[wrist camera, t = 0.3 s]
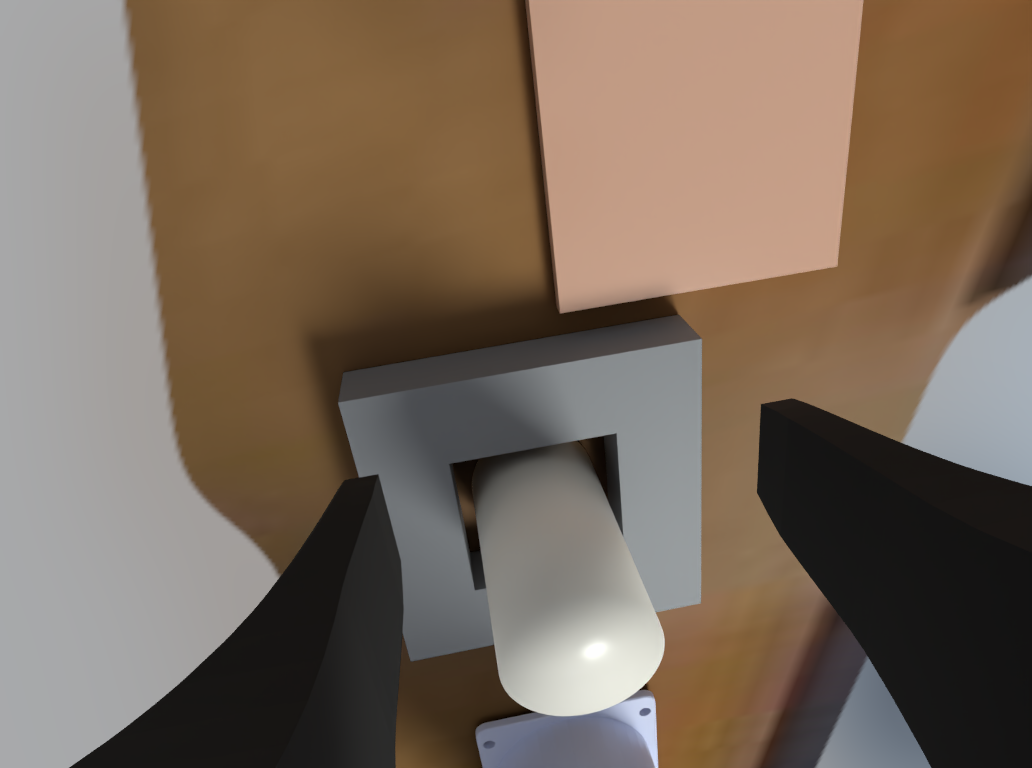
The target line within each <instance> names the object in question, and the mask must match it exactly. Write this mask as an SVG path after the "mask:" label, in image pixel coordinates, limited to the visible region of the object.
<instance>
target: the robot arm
mask: <svg viewBox="0 0 1032 768" xmlns="http://www.w3.org/2000/svg"><path fill="white" fill-rule="evenodd" d="M757 493H758V495H759V497H760V499H761V501H762V503H763V505H764V507H765V509H766V511H767V513H768V515H769V516H770V518H771V520H772V522H773V524H774V525H775V527H776V529H777V531H778V532H779V534H780V536H781V537H782V539H783V540H784V542H785V543H786V544H787V546H788V547H789V549H790V550H791V551H792V553H793V554H794V555H795V557H796V558H797V559H798V561H799V562H800V564H801V565H802V566H803V568H804V569H805V570H806V572H807V573H808V574H809V576H810V577H811V578H812V580H813V581H814V582H815V584H816V585H817V586H818V588H819V589H820V590H821V592H822V593H823V594H824V596H825V597H826V598H827V600H828V601H829V602H830V604H831V605H832V606H833V608H834V609H835V610H836V612H837V613H838V614H839V616H840V617H841V618H842V620H843V621H844V622H845V624H846V625H847V626H848V628H849V629H850V630H851V632H852V633H853V635H854V636H855V638H856V639H857V641H858V642H859V643H860V645H861V646H862V648H863V649H864V651H865V652H866V654H867V656H868V657H869V659H870V661H871V662H872V664H873V666H874V667H875V669H876V670H877V672H878V674H879V676H880V677H881V679H882V681H883V682H884V684H885V686H886V687H887V689H888V691H889V692H890V694H891V696H892V698H893V699H894V701H895V703H896V705H897V706H898V708H899V710H900V712H901V713H902V715H903V717H904V719H905V721H906V722H907V724H908V726H909V728H910V729H911V731H912V733H913V735H914V737H915V738H916V740H917V742H918V744H919V745H920V747H921V749H922V751H923V753H924V755H925V756H926V758H927V760H928V762H929V764H930V766H931V768H1032V486H1029V485H1025V484H1021V483H1018V482H1014V481H1011V480H1008V479H1004V478H1001V477H997V476H994V475H991V474H987V473H984V472H980V471H977V470H974V469H971V468H968V467H965V466H962V465H959V464H956V463H953V462H951V461H948V460H945V459H942V458H939V457H937V456H934V455H931V454H929V453H926V452H923V451H920V450H918V449H915V448H912V447H910V446H908V445H905V444H903V443H900V442H898V441H895V440H893V439H890V438H888V437H886V436H883V435H881V434H878V433H876V432H874V431H871V430H869V429H867V428H864V427H862V426H860V425H857V424H855V423H853V422H850V421H848V420H846V419H843V418H841V417H839V416H836V415H834V414H832V413H829V412H827V411H824V410H822V409H820V408H817V407H815V406H812V405H810V404H807V403H804V402H802V401H799V400H796V399H787V400H781V401H776V402H770V403H765V404H761V417H760V439H759V462H758V484H757ZM403 615H404V604H403V584H402V568H401V559H400V555H399V551H398V547H397V543H396V540H395V536H394V532H393V528H392V524H391V521H390V517H389V513H388V509H387V505H386V501H385V498H384V494H383V490H382V486H381V482H380V479H379V475H378V474H376V475H371V476H365V477H360V478H355V479H349V480H345V481H344V482H343V483H342V485H341V486H340V487H339V489H338V491H337V492H336V494H335V496H334V497H333V499H332V501H331V502H330V504H329V505H328V507H327V509H326V510H325V512H324V514H323V515H322V517H321V518H320V520H319V522H318V523H317V525H316V526H315V528H314V529H313V531H312V532H311V534H310V535H309V537H308V538H307V540H306V541H305V543H304V544H303V546H302V547H301V549H300V550H299V552H298V553H297V555H296V556H295V558H294V559H293V560H292V562H291V563H290V565H289V566H288V567H287V569H286V570H285V571H284V573H283V574H282V575H281V576H280V578H279V579H278V580H277V582H276V583H275V584H274V586H273V587H272V588H271V590H270V591H269V592H268V594H267V595H266V596H265V597H264V599H263V600H262V601H261V602H260V603H259V605H258V606H257V607H256V608H255V609H254V611H253V612H252V613H251V614H250V615H249V616H248V617H247V618H246V619H245V620H244V621H243V623H242V624H241V625H240V626H239V627H238V628H237V629H236V630H235V631H234V632H233V633H232V634H231V635H230V637H228V639H226V640H225V642H224V643H222V644H221V645H220V647H218V648H217V649H216V650H215V651H214V652H213V653H212V654H211V655H210V656H209V657H208V658H207V659H205V661H203V662H202V663H201V664H200V665H199V666H198V667H197V668H196V669H195V670H194V671H193V672H192V673H191V674H190V675H188V676H187V677H186V678H185V679H184V680H183V681H182V682H181V683H180V684H179V685H177V686H176V687H175V688H174V689H173V690H172V691H170V692H169V693H168V694H167V695H166V696H164V697H163V698H162V699H161V700H160V701H158V702H157V703H156V704H155V705H154V706H152V707H151V708H150V709H149V710H147V711H146V712H145V713H143V714H142V715H141V716H140V717H138V718H137V719H136V720H135V721H133V722H132V723H131V724H130V725H128V726H127V727H126V728H124V729H123V730H122V731H120V732H119V733H118V734H116V735H115V736H114V737H112V738H111V739H110V740H108V741H107V742H106V743H104V744H103V745H101V746H100V747H98V748H97V749H95V750H94V751H93V752H91V753H90V754H88V755H87V756H85V757H84V758H82V759H81V760H80V761H78V762H77V763H75V764H74V765H73V766H71V767H70V768H396V765H395V736H396V715H397V701H398V687H399V673H400V660H401V646H402V631H403ZM475 733H476V741H477V745H478V749H479V753H480V758H481V762H482V766H483V768H658V751H657V728H656V704H655V699H654V696H653V693H652V692H651V691H648V690H639V691H637V692H636V693H634V694H633V695H631V696H630V697H629V698H627V699H625V700H624V701H622V702H620V703H618V704H616V705H614V706H611V707H609V708H606V709H604V710H601V711H597V712H594V713H590V714H584V715H578V716H553V715H546V714H541V713H538V712H534V713H529V714H524V715H520V716H515V717H510V718H505V719H501V720H496V721H491V722H486V723H483V724H481V725H479V726H478V727H477V728H476V732H475Z"/></svg>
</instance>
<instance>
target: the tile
mask: <svg viewBox="0 0 1032 768" xmlns="http://www.w3.org/2000/svg"><path fill="white" fill-rule="evenodd" d="M525 3H526V13H527V23H528V33H529V42H530V52H531V62H532V72H533V82H534V91H535V101H536V111H537V121H538V130H539V140H540V150H541V160H542V170H543V179H544V189H545V199H546V209H547V218H548V228H549V238H550V248H551V258H552V267H553V277H554V287H555V297H556V306H557V308H558V310H559V312H560V313H566V312H572V311H578V310H584V309H590V308H596V307H602V306H607V305H613V304H619V303H625V302H631V301H637V300H643V299H649V298H654V297H660V296H666V295H672V294H678V293H684V292H690V291H695V290H701V289H707V288H713V287H719V286H725V285H731V284H737V283H742V282H748V281H754V280H760V279H766V278H772V277H778V276H784V275H789V274H795V273H801V272H807V271H813V270H819V269H825V268H831V267H836V266H837V262H838V252H839V242H840V232H841V222H842V212H843V202H844V192H845V181H846V171H847V161H848V151H849V141H850V131H851V121H852V110H853V100H854V90H855V80H856V70H857V60H858V50H859V40H860V29H861V19H862V9H863V0H525Z"/></svg>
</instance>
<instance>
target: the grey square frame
mask: <svg viewBox="0 0 1032 768" xmlns="http://www.w3.org/2000/svg"><path fill="white" fill-rule="evenodd" d="M338 404H339V408H340V411H341V415H342V418H343V422H344V425H345V429H346V433H347V436H348V440H349V443H350V447H351V450H352V454H353V458H354V461H355V465H356V468H357V472H358V475H359V478H360V477H365V476H371V475H376V474H378V475H379V479H380V482H381V486H382V490H383V494H384V498H385V501H386V505H387V509H388V513H389V517H390V521H391V524H392V528H393V532H394V536H395V540H396V543H397V547H398V551H399V555H400V559H401V568H402V584H403V604H404V615H403V631H402V632H403V636H404V639H405V643H406V646H407V650H408V654H409V657H410V661H416V660H421V659H426V658H431V657H436V656H441V655H446V654H451V653H456V652H461V651H466V650H471V649H476V648H481V647H486V646H491V645H494V638H493V631H492V624H491V618H490V611H489V604H488V597H487V590H486V583H485V576H484V569H483V562H482V555H481V550H480V551H475V552H470V550H469V545H468V540H467V535H466V530H465V525H464V520H463V515H462V510H461V505H460V500H459V495H458V490H457V485H456V480H455V475H454V470H453V465H452V463H457V462H462V461H468V460H473V459H479V458H484V457H490V456H495V455H501V454H506V453H512V452H517V451H522V450H528V449H533V448H539V447H544V446H550V445H555V444H561V443H566V442H572V441H577V440H583V439H588V438H593V437H599V436H604V447H605V461H606V474H607V487H608V501H609V505H610V507H611V509H612V512H613V514H614V516H615V519H616V521H617V524H618V526H619V528H620V531H621V533H622V535H623V538H624V540H625V542H626V545H627V547H628V549H629V552H630V554H631V556H632V559H633V561H634V564H635V566H636V568H637V571H638V573H639V575H640V578H641V580H642V582H643V585H644V587H645V589H646V592H647V594H648V596H649V599H650V601H651V603H652V606H653V608H654V611H655V612H659V611H664V610H669V609H674V608H679V607H684V606H689V605H694V604H699V603H701V425H702V339H701V338H700V336H699V335H698V334H697V333H696V332H695V331H694V330H693V329H692V328H691V327H690V326H689V325H688V324H687V323H686V322H685V320H684V319H683V318H682V317H681V316H680V315H674V316H668V317H662V318H656V319H651V320H645V321H639V322H633V323H627V324H622V325H616V326H610V327H604V328H598V329H593V330H587V331H581V332H575V333H569V334H564V335H558V336H552V337H546V338H540V339H535V340H529V341H523V342H517V343H511V344H506V345H500V346H494V347H488V348H482V349H477V350H471V351H465V352H459V353H453V354H448V355H442V356H436V357H430V358H424V359H419V360H413V361H407V362H401V363H395V364H390V365H384V366H378V367H372V368H366V369H361V370H355V371H349V372H343V377H342V383H341V389H340V395H339V400H338Z"/></svg>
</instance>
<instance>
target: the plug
mask: <svg viewBox="0 0 1032 768" xmlns="http://www.w3.org/2000/svg"><path fill="white" fill-rule="evenodd" d="M472 493H473V500H474V507H475V514H476V521H477V528H478V535H479V542H480V549H481V555H482V562H483V569H484V576H485V583H486V590H487V597H488V604H489V611H490V618H491V624H492V631H493V638H494V645H495V652H496V659H497V666H498V673H499V678H500V681H501V684H502V686H503V688H504V689H505V691H506V692H507V693H508V695H509V696H510V697H511V698H512V699H513V700H514V701H516V702H517V703H518V704H520V705H521V706H523V707H525V708H527V709H529V710H532V711H535V712H538V713H541V714H546V715H553V716H578V715H584V714H590V713H594V712H597V711H601V710H604V709H606V708H609V707H611V706H614V705H616V704H618V703H620V702H622V701H624V700H625V699H627V698H629V697H630V696H631V695H633V694H634V693H636V692H637V691H638V690H639V689H641V688H642V687H643V686H644V685H645V684H646V683H647V682H648V681H649V680H650V678H651V677H652V676H653V674H654V673H655V672H656V670H657V668H658V666H659V664H660V662H661V659H662V657H663V653H664V645H665V640H664V633H663V630H662V627H661V625H660V622H659V620H658V618H657V615H656V613H655V611H654V608H653V606H652V603H651V601H650V599H649V596H648V594H647V592H646V589H645V587H644V585H643V582H642V580H641V578H640V575H639V573H638V571H637V568H636V566H635V564H634V561H633V559H632V556H631V554H630V552H629V549H628V547H627V545H626V542H625V540H624V538H623V535H622V533H621V531H620V528H619V526H618V524H617V521H616V519H615V516H614V514H613V512H612V509H611V507H610V505H609V502H608V500H607V498H606V495H605V493H604V491H603V488H602V486H601V484H600V481H599V479H598V476H597V474H596V472H595V469H594V467H593V465H592V462H591V460H590V458H589V456H588V454H587V452H586V450H585V449H584V448H583V446H582V445H581V444H580V443H579V442H578V441H572V442H566V443H561V444H555V445H550V446H544V447H539V448H533V449H528V450H522V451H517V452H512V453H506V454H501V455H495V456H490V457H484V458H479V460H478V462H477V464H476V466H475V469H474V471H473V476H472Z"/></svg>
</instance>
